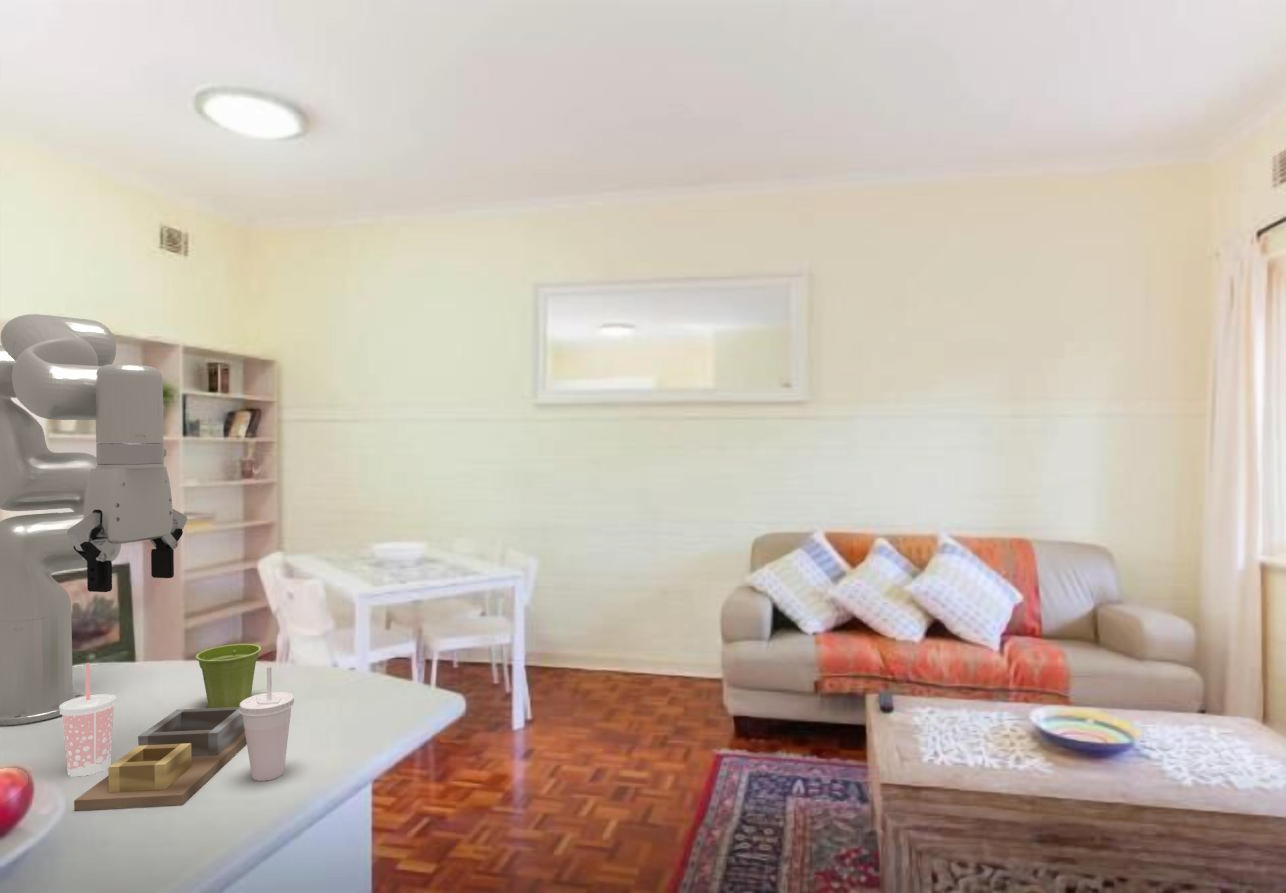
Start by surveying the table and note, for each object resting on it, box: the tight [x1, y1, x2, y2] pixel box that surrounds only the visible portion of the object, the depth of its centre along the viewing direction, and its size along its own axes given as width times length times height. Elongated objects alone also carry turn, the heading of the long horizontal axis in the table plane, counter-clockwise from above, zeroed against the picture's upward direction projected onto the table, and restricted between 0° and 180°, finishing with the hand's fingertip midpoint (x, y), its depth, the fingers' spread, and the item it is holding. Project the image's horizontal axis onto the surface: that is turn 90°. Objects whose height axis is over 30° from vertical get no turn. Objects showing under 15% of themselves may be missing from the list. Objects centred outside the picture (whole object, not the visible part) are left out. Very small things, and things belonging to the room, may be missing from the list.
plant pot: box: [195, 643, 262, 708], centre depth 125 cm, size 9×9×9 cm
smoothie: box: [239, 665, 295, 782], centre depth 98 cm, size 6×6×14 cm
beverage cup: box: [59, 662, 117, 777], centre depth 100 cm, size 6×6×14 cm
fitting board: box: [73, 707, 247, 811], centre depth 100 cm, size 22×12×4 cm, turn 6°
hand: (132, 584), depth 102 cm, fingers open, 9 cm apart
